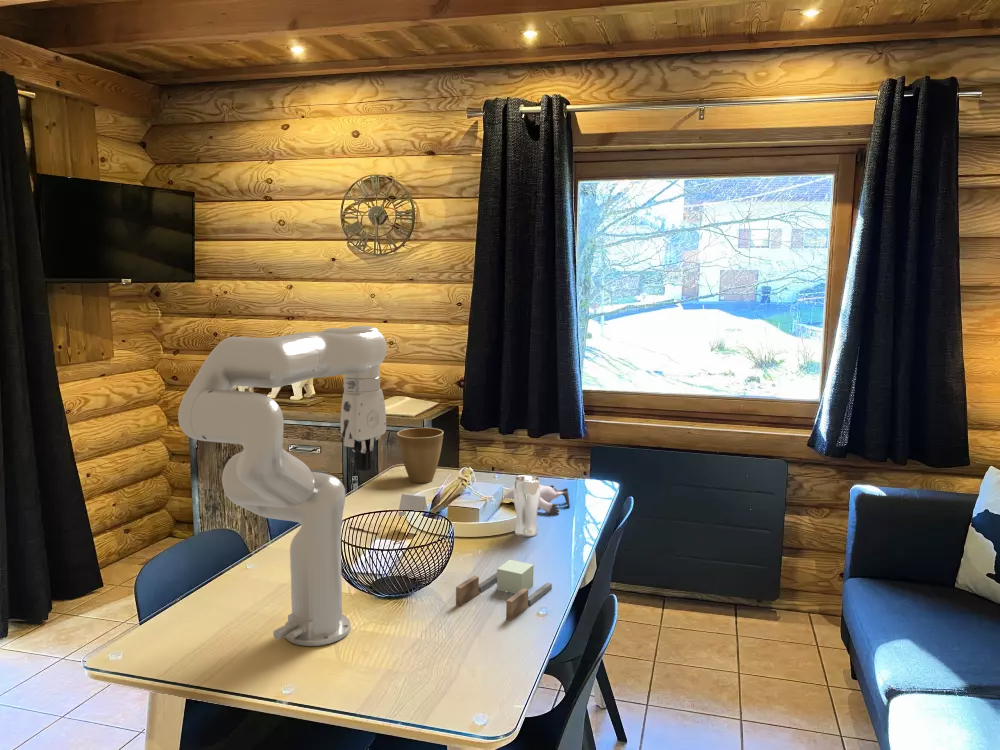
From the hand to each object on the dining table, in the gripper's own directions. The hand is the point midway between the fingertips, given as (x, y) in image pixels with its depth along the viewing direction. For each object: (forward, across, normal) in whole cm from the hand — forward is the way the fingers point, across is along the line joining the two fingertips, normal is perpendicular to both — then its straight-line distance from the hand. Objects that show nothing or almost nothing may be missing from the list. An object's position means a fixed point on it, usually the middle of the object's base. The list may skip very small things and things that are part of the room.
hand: (363, 469), depth 168 cm
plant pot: (+27, +75, +40) cm, 89 cm away
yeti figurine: (+28, +74, -4) cm, 79 cm away
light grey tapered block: (+27, +35, +13) cm, 46 cm away
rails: (+27, +17, -28) cm, 43 cm away
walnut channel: (+27, +8, -28) cm, 40 cm away
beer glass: (+27, +50, -13) cm, 58 cm away
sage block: (+27, +18, -28) cm, 43 cm away
